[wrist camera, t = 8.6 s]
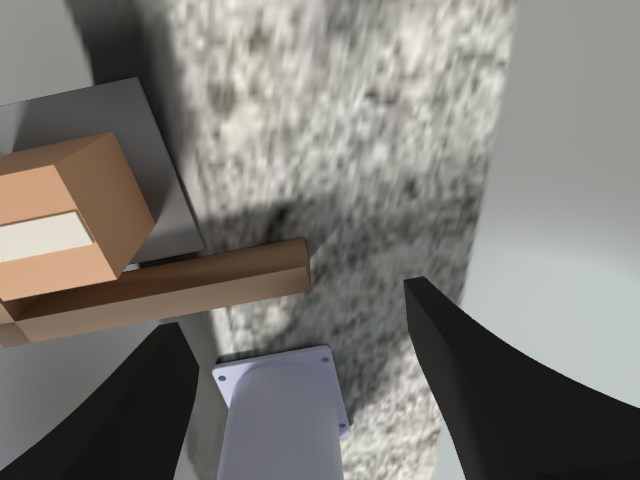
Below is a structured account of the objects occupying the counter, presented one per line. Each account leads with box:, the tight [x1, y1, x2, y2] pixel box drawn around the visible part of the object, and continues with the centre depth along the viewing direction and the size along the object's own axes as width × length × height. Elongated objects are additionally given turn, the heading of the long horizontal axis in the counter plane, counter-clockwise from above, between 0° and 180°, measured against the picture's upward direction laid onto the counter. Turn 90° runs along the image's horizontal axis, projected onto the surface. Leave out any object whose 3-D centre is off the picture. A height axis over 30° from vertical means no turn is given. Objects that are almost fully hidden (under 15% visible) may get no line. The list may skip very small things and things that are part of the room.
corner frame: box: [0, 76, 311, 348], centre depth 18 cm, size 14×16×3 cm
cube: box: [0, 131, 156, 301], centre depth 17 cm, size 5×5×5 cm
